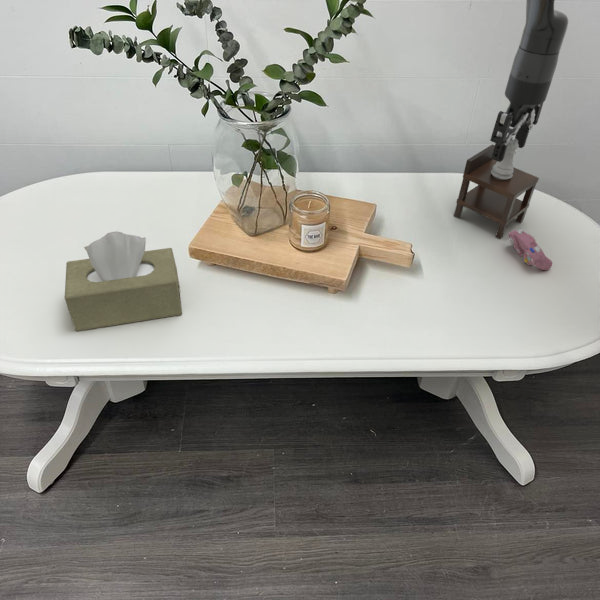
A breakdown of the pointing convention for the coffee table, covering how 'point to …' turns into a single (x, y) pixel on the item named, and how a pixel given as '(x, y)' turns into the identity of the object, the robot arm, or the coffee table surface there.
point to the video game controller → (529, 249)
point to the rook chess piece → (506, 162)
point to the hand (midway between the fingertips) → (507, 153)
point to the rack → (494, 191)
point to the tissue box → (121, 283)
